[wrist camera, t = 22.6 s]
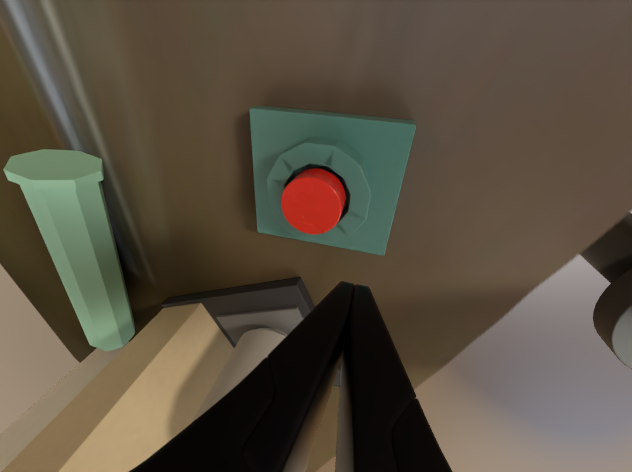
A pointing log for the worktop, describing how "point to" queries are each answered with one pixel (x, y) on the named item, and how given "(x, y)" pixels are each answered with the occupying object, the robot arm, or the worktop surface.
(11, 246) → the worktop surface
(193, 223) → the worktop surface
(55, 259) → the container
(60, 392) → the bottle
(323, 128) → the control block
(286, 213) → the button
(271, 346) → the can
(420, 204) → the worktop surface
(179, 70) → the worktop surface
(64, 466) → the coffee maker
